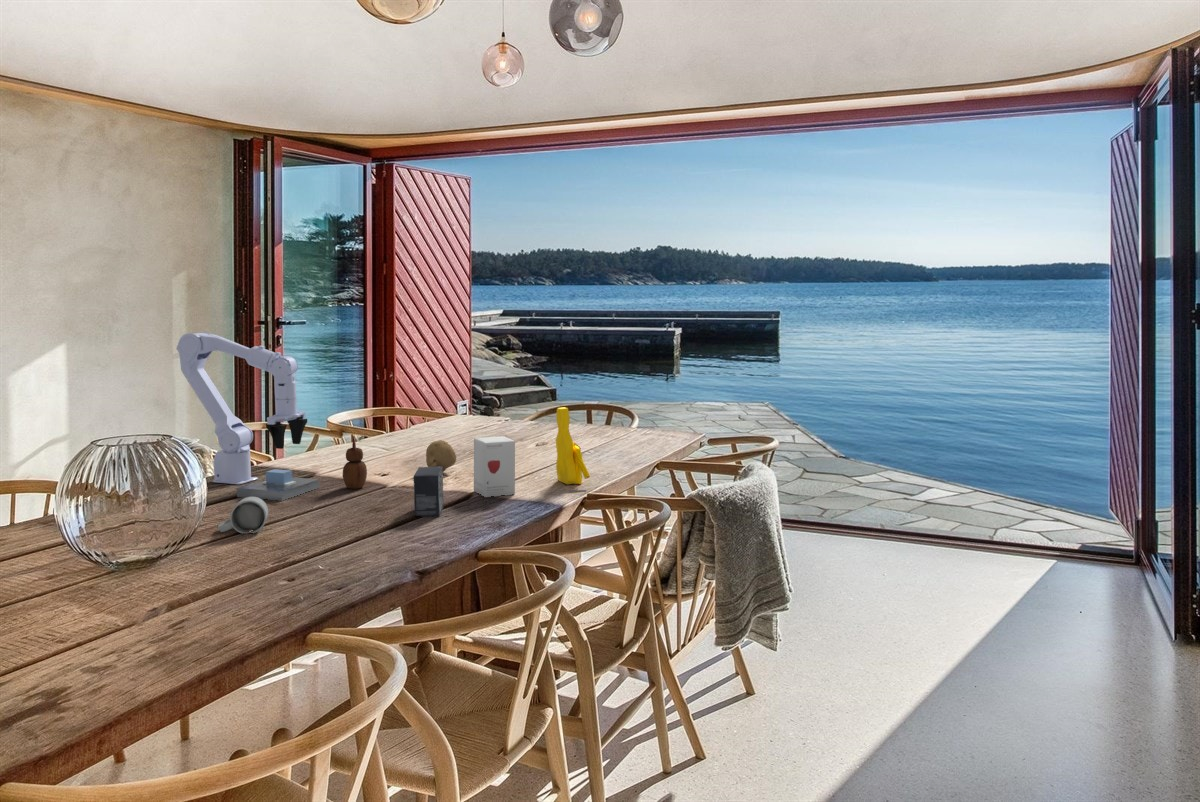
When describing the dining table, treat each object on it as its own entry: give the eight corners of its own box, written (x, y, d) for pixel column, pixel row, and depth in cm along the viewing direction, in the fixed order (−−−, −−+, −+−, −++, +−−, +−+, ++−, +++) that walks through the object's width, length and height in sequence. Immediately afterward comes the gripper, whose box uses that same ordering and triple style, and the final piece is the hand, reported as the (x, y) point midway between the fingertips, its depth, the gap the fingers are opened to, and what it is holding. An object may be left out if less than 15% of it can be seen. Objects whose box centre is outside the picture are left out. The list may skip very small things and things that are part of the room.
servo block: (263, 493, 236) (262, 471, 235) (271, 490, 239) (271, 468, 239) (287, 495, 234) (287, 473, 233) (296, 492, 237) (295, 470, 236)
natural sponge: (459, 470, 268) (459, 438, 267) (451, 476, 259) (451, 443, 258) (430, 469, 269) (430, 437, 268) (422, 475, 260) (421, 442, 259)
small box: (418, 506, 223) (417, 466, 222) (444, 506, 223) (443, 466, 222) (413, 517, 212) (412, 474, 211) (440, 516, 213) (439, 474, 212)
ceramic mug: (269, 524, 205) (267, 491, 204) (267, 533, 197) (265, 499, 196) (220, 527, 202) (218, 495, 201) (216, 537, 194) (214, 503, 193)
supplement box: (484, 498, 233) (483, 442, 231) (473, 491, 241) (472, 437, 239) (516, 494, 237) (515, 440, 235) (503, 488, 245) (503, 435, 243)
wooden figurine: (359, 491, 240) (357, 437, 238) (339, 489, 241) (338, 436, 239) (370, 485, 246) (369, 433, 244) (351, 484, 247) (350, 432, 245)
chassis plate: (237, 497, 231) (236, 487, 231) (276, 484, 246) (275, 475, 246) (281, 501, 227) (281, 491, 227) (318, 488, 242) (318, 479, 242)
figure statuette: (595, 487, 246) (596, 410, 244) (570, 490, 243) (571, 411, 240) (567, 475, 262) (568, 403, 259) (543, 478, 258) (544, 404, 256)
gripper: (281, 402, 239) (283, 451, 241) (313, 396, 253) (315, 442, 254) (259, 401, 241) (262, 450, 243) (292, 395, 255) (295, 441, 256)
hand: (288, 446), depth 249 cm, fingers open, 7 cm apart
